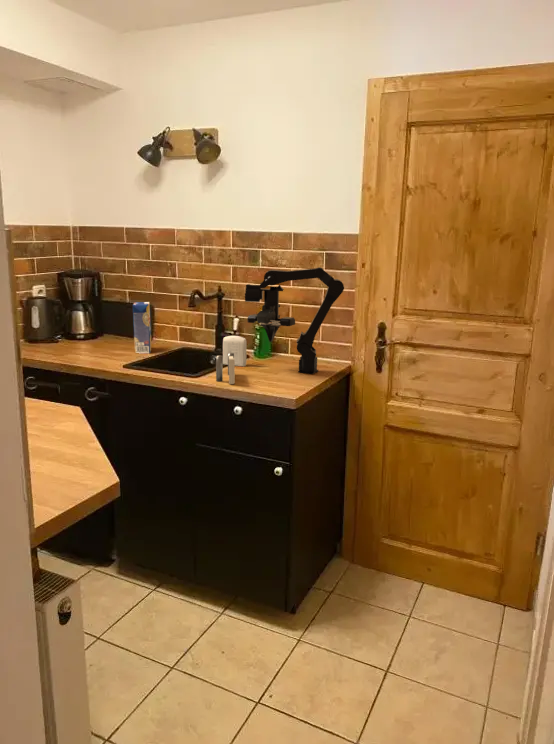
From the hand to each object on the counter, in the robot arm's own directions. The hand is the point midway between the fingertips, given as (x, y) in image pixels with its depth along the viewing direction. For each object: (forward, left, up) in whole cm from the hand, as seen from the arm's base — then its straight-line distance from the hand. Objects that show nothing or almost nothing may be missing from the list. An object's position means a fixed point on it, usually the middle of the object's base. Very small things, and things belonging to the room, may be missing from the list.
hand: (270, 341), depth 226 cm
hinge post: (+10, +13, -12) cm, 21 cm away
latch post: (+9, +24, -12) cm, 28 cm away
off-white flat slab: (+6, +21, -12) cm, 25 cm away
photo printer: (+18, -2, -12) cm, 22 cm away
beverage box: (+69, -5, -12) cm, 70 cm away
